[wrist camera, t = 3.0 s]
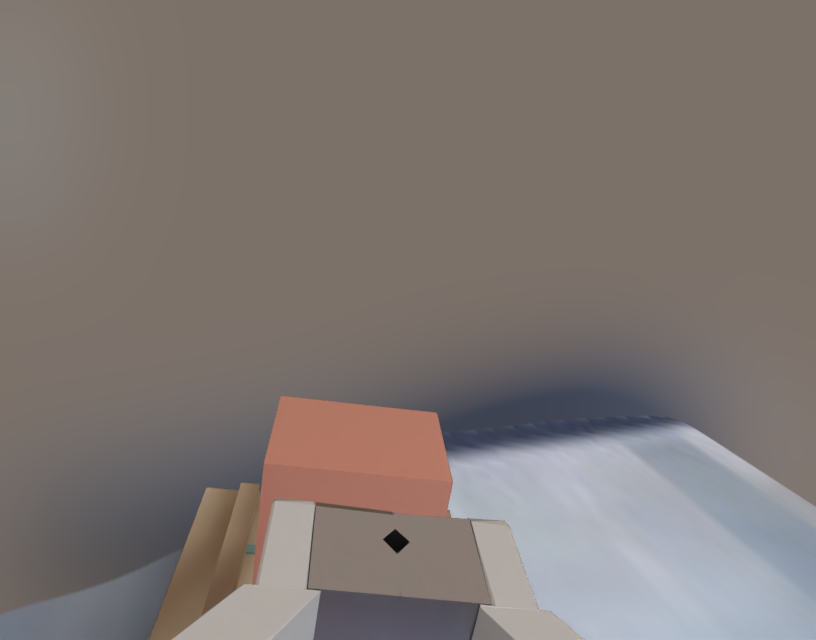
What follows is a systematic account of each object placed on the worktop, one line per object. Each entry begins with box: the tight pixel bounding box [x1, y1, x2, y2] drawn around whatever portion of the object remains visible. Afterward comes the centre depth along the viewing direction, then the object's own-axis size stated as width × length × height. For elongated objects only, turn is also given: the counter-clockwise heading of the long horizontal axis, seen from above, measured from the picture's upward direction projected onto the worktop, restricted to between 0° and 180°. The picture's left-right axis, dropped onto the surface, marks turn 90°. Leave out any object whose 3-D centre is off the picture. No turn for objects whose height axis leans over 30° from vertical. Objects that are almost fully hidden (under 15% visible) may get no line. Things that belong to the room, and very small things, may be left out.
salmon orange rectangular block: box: [252, 396, 453, 585], centre depth 22 cm, size 6×5×13 cm
